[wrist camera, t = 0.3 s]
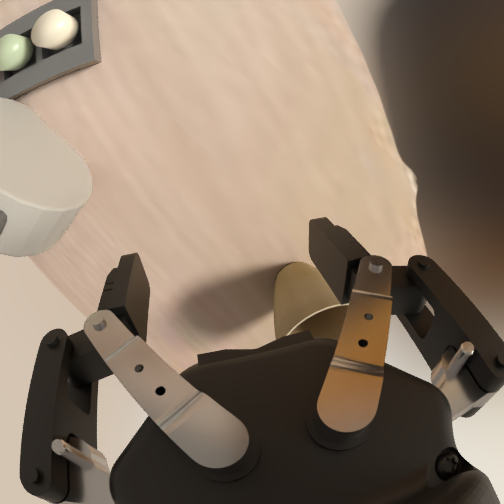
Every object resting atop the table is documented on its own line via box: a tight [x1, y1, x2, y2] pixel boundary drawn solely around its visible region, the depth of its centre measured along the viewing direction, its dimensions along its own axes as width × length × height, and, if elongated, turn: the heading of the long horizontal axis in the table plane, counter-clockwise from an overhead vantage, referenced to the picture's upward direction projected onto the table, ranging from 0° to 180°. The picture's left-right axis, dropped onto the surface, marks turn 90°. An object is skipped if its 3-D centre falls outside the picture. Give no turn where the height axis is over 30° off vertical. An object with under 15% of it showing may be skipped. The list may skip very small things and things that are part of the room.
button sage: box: [0, 34, 34, 71], centre depth 18 cm, size 5×5×4 cm
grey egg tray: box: [0, 0, 101, 100], centre depth 21 cm, size 12×23×3 cm, turn 95°
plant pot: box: [274, 262, 349, 340], centre depth 46 cm, size 15×15×16 cm
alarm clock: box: [0, 97, 92, 257], centre depth 23 cm, size 21×8×20 cm, turn 39°
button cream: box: [31, 9, 79, 50], centre depth 19 cm, size 5×5×4 cm
